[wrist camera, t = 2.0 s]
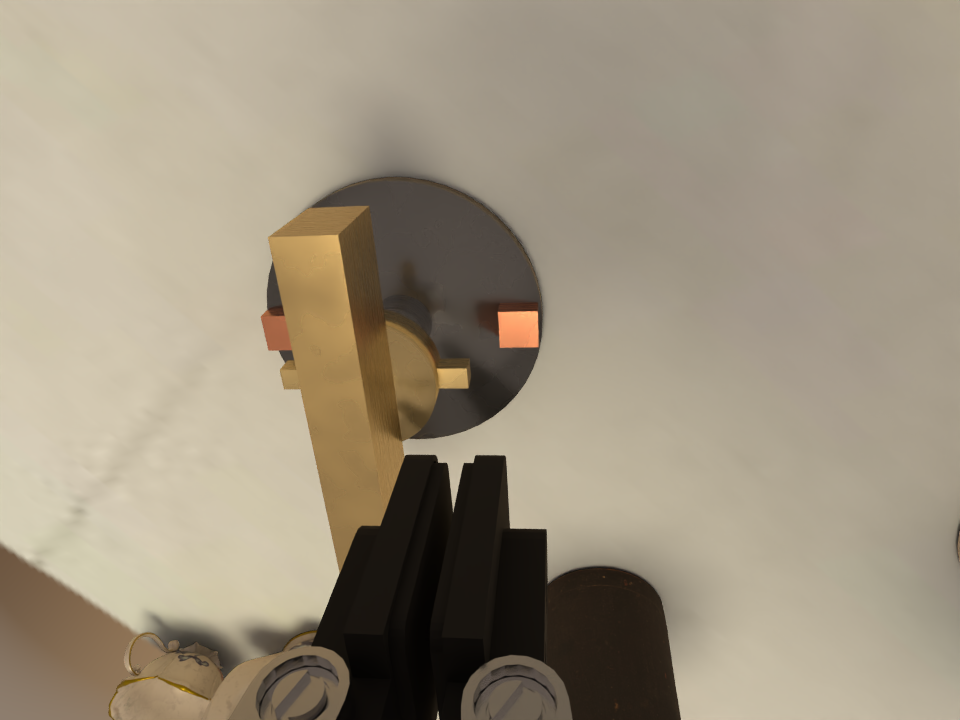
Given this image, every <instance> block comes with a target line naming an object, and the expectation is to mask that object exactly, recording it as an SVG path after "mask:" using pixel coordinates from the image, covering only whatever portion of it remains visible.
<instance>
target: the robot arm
mask: <svg viewBox="0 0 960 720" xmlns="http://www.w3.org/2000/svg"><path fill="white" fill-rule="evenodd" d="M957 548H958V555H959V562H960V533H959V539H958V546H957ZM547 611H548V578H547V531H546V529H510V522H509V503H508V485H507V466H506V457H505V456H499V455H476V456H475V459H474V463H464V465H463V469H462V473H461V478H460V483H459V488H458V493H457V497H456V502H455V507H454V512H453V508H452V499H451V489H450V479H449V470H448V465H447V463H438V459H437V456H436V455H406V456H405V458H404V460H403V463H402V466H401V468H400V471H399V474H398V477H397V480H396V483H395V485H394V488H393V491H392V494H391V497H390V500H389V503H388V505H387V508H386V511H385V514H384V517H383V520H382V523H381V525H380V526H361V527H359V528H358V530H357V532H356V534H355V536H354V539H353V541H352V544H351V546H350V549H349V551H348V554H347V556H346V559H345V561H344V564H343V567H342V569H341V572H340V574H339V577H338V579H337V582H336V584H335V587H334V589H333V592H332V594H331V597H330V599H329V602H328V605H327V607H326V610H325V612H324V615H323V617H322V620H321V622H320V625H319V627H318V630H317V632H316V635H315V637H314V640H313V642H312V645H311V646H305V647H301V648H297V649H293V650H290V651H287V652H285V653H283V654H281V655H279V656H277V657H275V658H274V659H273V660H272V661H270V662H269V663H268V664H267V665H265V666H264V667H263V668H262V669H261V670H260V671H259V673H258V674H257V675H256V676H255V678H254V679H253V680H252V681H251V683H250V685H249V686H248V688H247V689H246V691H245V693H244V694H243V696H242V698H241V699H240V701H239V702H238V704H237V706H236V707H235V709H234V711H233V712H232V714H231V716H230V717H229V719H228V720H436V719H437V713H438V712H439V719H440V720H573V719H572V713H571V707H570V702H569V697H568V694H567V691H566V688H565V685H564V682H563V681H562V680H561V679H560V677H559V676H558V675H557V673H556V672H555V671H554V670H553V669H552V668H550V667H549V666H547Z"/></svg>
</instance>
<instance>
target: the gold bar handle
mask: <svg viewBox="0 0 960 720" xmlns="http://www.w3.org/2000/svg"><path fill="white" fill-rule="evenodd" d="M268 240H269V245H270V249H271V254H272V259H273V263H274V268H275V273H276V277H277V282H278V287H279V291H280V296H281V301H282V305H283V310H284V315H285V319H286V324H287V329H288V333H289V338H290V343H291V347H292V352H293V357H294V360H288V361H287V362H286V363H285V364H284V366H283V367H282V368H281V369H280V373H281V377H282V382H283V386H284V389H301V394H302V399H303V403H304V408H305V413H306V417H307V422H308V427H309V431H310V436H311V441H312V445H313V450H314V455H315V459H316V464H317V469H318V473H319V478H320V483H321V487H322V492H323V497H324V501H325V506H326V511H327V515H328V520H329V525H330V529H331V534H332V539H333V543H334V548H335V553H336V557H337V562H338V567H339V571H340V572H341V569H342V567H343V564H344V561H345V559H346V556H347V554H348V551H349V549H350V546H351V544H352V541H353V539H354V536H355V534H356V532H357V530H358V528H359V527H361V526H380V525H381V523H382V520H383V517H384V514H385V511H386V508H387V505H388V503H389V500H390V497H391V494H392V491H393V488H394V485H395V483H396V480H397V477H398V474H399V471H400V468H401V466H402V463H403V460H404V451H403V444H402V441H404V440H406V439H409V438H410V437H412V436H413V435H415V434H416V433H417V432H419V431H420V430H421V429H422V428H423V427H424V425H425V424H426V423H427V421H428V420H429V418H430V416H431V414H432V412H433V409H434V406H435V403H436V399H437V396H438V393H439V390H440V389H441V388H469V384H470V379H471V372H470V360H469V358H452V359H441V358H440V355H439V352H438V350H437V348H436V345H435V344H434V342H433V341H432V339H431V338H430V336H429V335H428V334H427V333H426V332H425V331H424V330H423V329H422V328H421V327H420V326H419V325H418V324H416V323H415V322H414V321H412V320H411V319H409V318H407V317H405V316H403V315H401V314H398V313H396V312H393V311H389V310H385V309H384V308H383V301H382V293H381V286H380V279H379V272H378V265H377V257H376V250H375V243H374V236H373V229H372V221H371V214H370V207H369V206H348V207H323V208H308V209H307V210H305V211H304V212H303V213H301V214H300V215H298V216H297V217H296V218H294V219H293V220H291V221H290V222H289V223H287V224H286V225H284V226H283V227H282V228H280V229H279V230H277V231H276V232H275V233H273V234H272V235H271V236H269V237H268Z"/></svg>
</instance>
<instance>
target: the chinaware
mask: <svg viewBox="0 0 960 720" xmlns="http://www.w3.org/2000/svg"><path fill="white" fill-rule="evenodd" d="M316 632H317V630H314V631H308V632H304V633H302V634H299V635H297V636H295V637H294V638H292V639H291V640H290V641H289V642H288V643H287V644H286V646H285V647H284V649H283V652H280V653H277V654H273V655H268V656H264V657H260V658H256V659H252V660H249V661H246V662H243V663H241V664H240V665H238V666H236V667H235V668H234V669H233V670H232V671H231V672H230V673H229V674H228V675H227V676H226V677H225V679H224V677H223V675H222V673H221V671H220V668H222V666H220V663H219V658H218V656H217V654H218V651H212V650H210V649H208V648H206V647H204V646H201V645H199V644H198V643H197V642H195V644H194V645H191V646H188V647H186V648H184V649H182V648H179V642H178V641H177V640H173V641H170V642H169V644H168V649H167V648H166V647H165V646H164V644H163V643H162V641H161V640H160V638H159V637H158V636H157V635H155V634H153V633H150V632H145V633H141V634H139V635H137V636H136V637H134V638H133V639H132V640H131V642H130V643H129V644H128V646H127V648H126V651H125V655H124V664H125V667H126V669H127V670H128V672H129V673H130V674H131V675H133V676H135V677H127V678H125V679H124V680H123V681H122V682H121V683H120V684H119V685H118V686H117V688H116V693H115V694H114V696H113V698H112V700H111V701H110V704H109V712H108V713H109V716H110V717H111V718H112V719H113V720H228V719H229V717H230V716H231V714H232V712H233V711H234V709H235V707H236V706H237V704H238V702H239V701H240V699H241V698H242V696H243V694H244V693H245V691H246V689H247V688H248V686H249V685H250V683H251V681H252V680H253V679H254V678H255V676H256V675H257V674H258V673H259V671H260V670H261V669H262V668H263V667H264V666H265V665H267V664H268V663H269V662H270V661H272V660H273V659H274V658H275V657H277V656H279V655H281V654H283V653H285V652H287V651H290V650H293V649H297V648H301V647H305V646H311V645H312V642H313V640H314V637H315V635H316ZM141 637H150V638H152V639H153V640H154V641H155V642H156V643H157V644H158V645H159V647H160V648H161V649H162V650H163V651H164V652H166V653H168V654H166V655H164V656H161V657H160V658H157V659H156V660H154V661H152V662H151V663H149V664H148V665H147V666H146V667H144V668H143V669H142V670H141V671H140V668H141V666H140V665H138V664H137V665H136V666H135V667H133V668H132V666H131V658H130V656H131V651H132V648H133V645H134V643H135V642H136V641H137V640H138V639H139V638H141ZM178 649H179V650H180V651H179V652H176V651H177V650H178ZM135 671H137V673H136V672H135Z"/></svg>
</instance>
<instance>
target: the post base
mask: <svg viewBox="0 0 960 720" xmlns="http://www.w3.org/2000/svg"><path fill="white" fill-rule="evenodd" d="M348 206H369V207H370V214H371V221H372V229H373V236H374V243H375V250H376V257H377V265H378V272H379V279H380V286H381V293H382V301H383V308H384V309H385V310H389V311H393V312H396V313H398V314H401V315H403V316H405V317H407V318H409V319H411V320H412V321H414V322H415V323H416V324H418V325H419V326H420V327H421V328H422V329H423V330H424V331H425V332H426V333H427V334H428V335H429V336H430V338H431V339H432V341H433V342H434V344H435V345H436V348H437V350H438V352H439V355H440V358H441V359H452V358H469V360H470V372H471V379H470V384H469V388H441V389H440V390H439V393H438V396H437V399H436V403H435V406H434V409H433V412H432V414H431V416H430V418H429V420H428V421H427V423H426V424H425V425H424V427H423V428H422V429H421V430H420V431H419V432H417V433H416V434H415V435H413V436H412V437H410V438H409V439H427V438H438V437H444V436H449V435H453V434H456V433H460V432H463V431H466V430H468V429H471V428H473V427H475V426H478V425H480V424H481V423H483V422H485V421H486V420H488V419H490V418H491V417H493V416H494V415H496V414H497V413H498V412H499V411H501V410H502V409H503V408H505V407H506V406H507V405H508V404H509V402H510V401H511V400H512V399H513V398H514V397H515V396H516V395H517V394H518V392H519V391H520V390H521V388H522V387H523V385H524V384H525V383H526V381H527V379H528V377H529V375H530V373H531V371H532V369H533V367H534V364H535V361H536V358H537V356H538V352H539V347H540V342H541V337H542V317H543V311H542V300H541V293H540V289H539V285H538V280H537V277H536V275H535V272H534V269H533V267H532V264H531V262H530V260H529V258H528V256H527V254H526V253H525V251H524V249H523V247H522V245H521V244H520V243H519V241H518V240H517V239H516V237H515V236H514V235H513V233H512V232H511V231H510V230H509V228H508V227H507V226H506V225H505V224H504V223H503V222H502V221H501V220H500V219H499V218H498V217H497V216H496V215H494V214H493V213H492V212H491V211H489V210H488V209H487V208H486V207H484V206H483V205H482V204H480V203H479V202H477V201H475V200H474V199H472V198H470V197H469V196H467V195H466V194H463V193H461V192H459V191H457V190H454V189H452V188H450V187H448V186H445V185H441V184H438V183H435V182H431V181H428V180H422V179H415V178H409V177H385V178H376V179H369V180H366V181H362V182H358V183H354V184H351V185H349V186H346V187H344V188H342V189H339V190H337V191H335V192H333V193H332V194H330V195H328V196H327V197H325V198H323V199H322V200H320V201H319V202H317V203H316V204H315V205H313V206H312V207H311V208H323V207H348ZM267 309H268V310H267V311H266V312H265V313H264V314H263V315H262V316H261V320H262V324H263V328H264V333H265V337H266V341H267V345H268V350H279V352H280V354H281V356H282V358H283V360H284V361H285V363H286V362H287V361H288V360H294V357H293V352H292V347H291V343H290V338H289V333H288V329H287V324H286V319H285V315H284V310H283V305H282V301H281V296H280V291H279V287H278V282H277V277H276V273H275V268H274V263H273V262H272V266H271V270H270V273H269V279H268V287H267Z"/></svg>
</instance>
